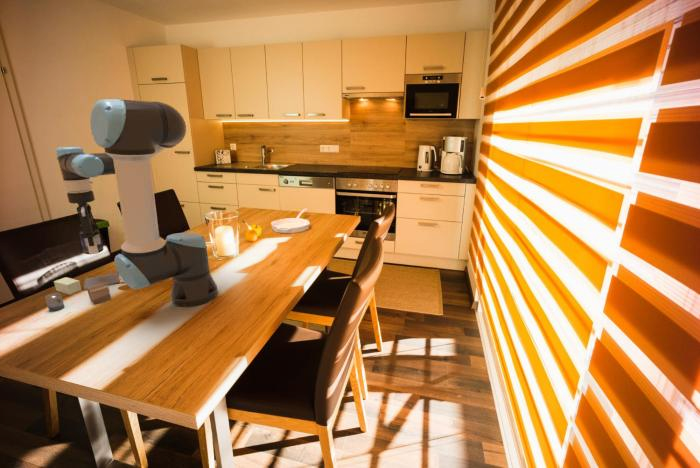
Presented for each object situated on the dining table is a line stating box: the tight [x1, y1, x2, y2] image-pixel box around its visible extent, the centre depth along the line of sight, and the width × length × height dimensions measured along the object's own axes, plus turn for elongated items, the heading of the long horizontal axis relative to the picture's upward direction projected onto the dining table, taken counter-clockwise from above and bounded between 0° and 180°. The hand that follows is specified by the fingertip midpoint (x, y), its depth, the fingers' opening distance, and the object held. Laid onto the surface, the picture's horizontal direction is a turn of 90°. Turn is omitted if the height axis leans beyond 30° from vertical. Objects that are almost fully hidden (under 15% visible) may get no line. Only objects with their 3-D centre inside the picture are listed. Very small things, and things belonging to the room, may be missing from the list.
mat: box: [82, 271, 120, 291], centre depth 131 cm, size 11×11×1 cm
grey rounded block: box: [44, 292, 65, 313], centre depth 111 cm, size 4×4×5 cm
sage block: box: [53, 276, 83, 295], centre depth 124 cm, size 8×4×4 cm, turn 68°
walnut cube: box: [86, 283, 112, 306], centre depth 117 cm, size 5×5×5 cm
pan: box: [270, 207, 311, 234], centre depth 209 cm, size 24×43×6 cm, turn 169°
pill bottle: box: [78, 222, 104, 255], centre depth 126 cm, size 6×6×11 cm
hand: (94, 250), depth 128 cm, fingers closed on pill bottle, 6 cm apart
